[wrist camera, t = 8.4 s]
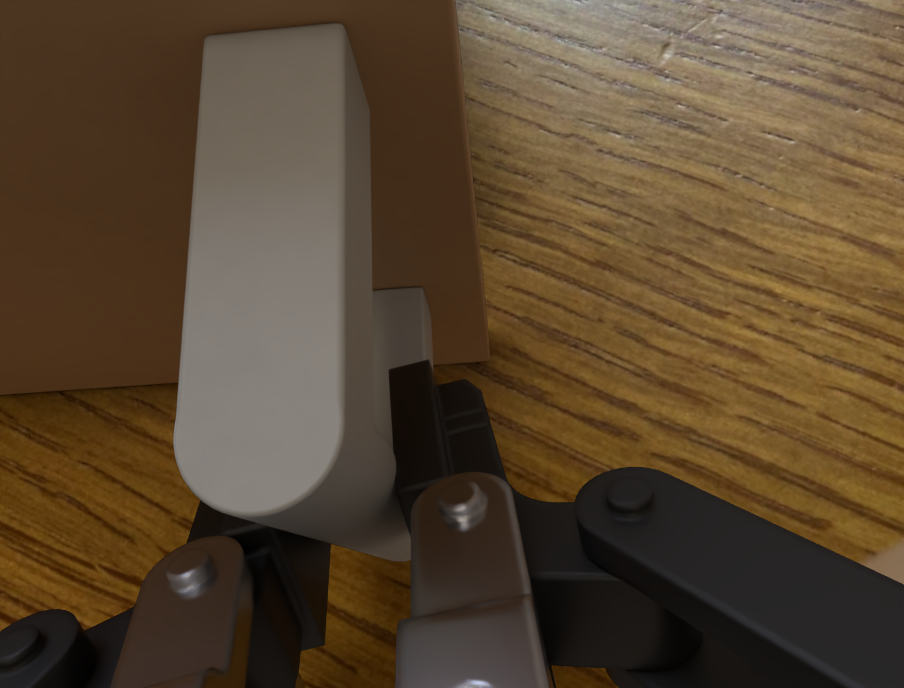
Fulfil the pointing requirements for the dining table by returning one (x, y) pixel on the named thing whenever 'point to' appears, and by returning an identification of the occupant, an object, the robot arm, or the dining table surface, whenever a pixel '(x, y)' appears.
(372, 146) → the cupboard door
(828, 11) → the dining table surface
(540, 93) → the dining table surface
